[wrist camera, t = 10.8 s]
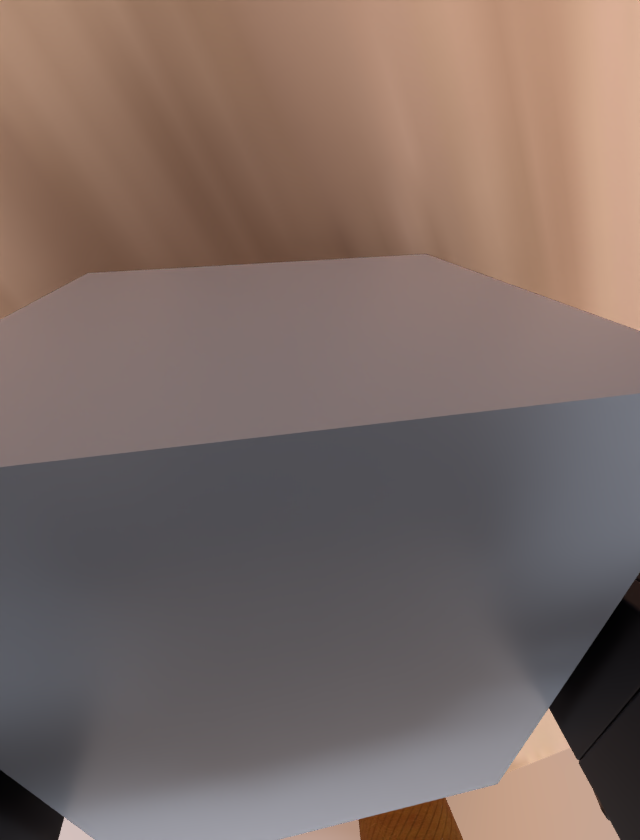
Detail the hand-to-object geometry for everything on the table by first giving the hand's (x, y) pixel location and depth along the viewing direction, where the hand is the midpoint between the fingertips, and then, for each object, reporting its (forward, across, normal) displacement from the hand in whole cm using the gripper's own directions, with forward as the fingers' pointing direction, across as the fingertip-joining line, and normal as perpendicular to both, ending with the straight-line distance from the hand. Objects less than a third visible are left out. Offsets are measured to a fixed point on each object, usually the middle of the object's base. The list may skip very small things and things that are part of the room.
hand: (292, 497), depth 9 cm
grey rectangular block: (+2, 0, 0) cm, 3 cm away
